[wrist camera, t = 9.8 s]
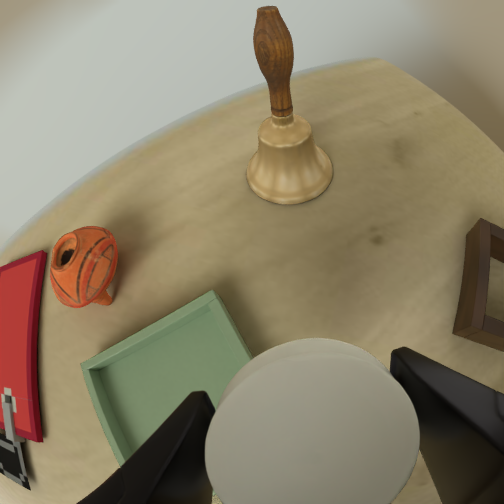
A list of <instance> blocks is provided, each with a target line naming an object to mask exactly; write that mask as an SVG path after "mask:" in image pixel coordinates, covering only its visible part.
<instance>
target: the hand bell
mask: <svg viewBox="0 0 504 504" xmlns="http://www.w3.org/2000/svg"><path fill="white" fill-rule="evenodd" d="M253 40H254V41H253V42H254V50H255V55H256V59H257V61H258V64H259V67H260V70H261V72H262V73H263V75H264V77H265V79H266V81H267V83H268V87H269V92H270V102H271V112H272V114H271V115H272V116H271V117H269V118H267V119H266V120H265V121H264V122H263V123H262V124H261V125H260V127H259V130H258V140H259V146H258V151H257V152H256V153H255V154H254V155H253V156H252V158H251V160H250V162H249V164H248V167H247V172H246V176H247V181H248V184H249V186H250V187H251V189H252V190H253V191H254V192H255V193H256V194H257V195H258V196H260V197H261V198H263V199H265V200H267V201H270V202H274V203H277V204H298V203H303V202H306V201H309V200H311V199H314V198H315V197H317V196H318V195H320V194H321V193H322V192H323V191H324V190H325V189H326V188H327V187H328V185H329V184H330V182H331V179H332V174H333V168H332V164H331V161H330V159H329V157H328V156H327V155H326V153H325V152H324V151H323V150H322V149H320V148H319V147H318V146H316V145H315V143H314V140H313V136H312V131H311V127H310V125H309V123H308V122H307V121H306V120H305V119H304V118H302V117H300V116H298V115H294V114H293V106H292V100H291V94H290V76H291V73H292V68H293V60H294V52H293V43H292V38H291V35H290V32H289V30H288V28H287V26H286V24H285V22H284V21H283V19H282V17H281V15H280V13H279V11H278V8H277V7H276V6H266V7H261V8H258V9H257V19H256V24H255V29H254V36H253Z"/></svg>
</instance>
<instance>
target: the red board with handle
mask: <svg viewBox="0 0 504 504" xmlns="http://www.w3.org/2000/svg"><path fill="white" fill-rule="evenodd" d="M46 257H47V253H46V252H44V251H43V250H41V251H39V252H36V253H34V254H31V255H29V256H26V257H23V258H21V259H19V260H16V261H14V262H11V263H9V264H6V265H4V266H2V267H0V428H1V429H4V430H5V432H6V436H5V435H3V434H0V473H2V474H3V475H5V476H6V477H8V478H10V479H11V480H13V481H15V482H16V483H18V484H20V485H22V486H23V487H25V488H27V489H29V490H31V489H30V486H29V482H28V478H27V474H26V470H25V466H24V462H23V457H22V452H21V446H20V442H25V438H26V439H29V440H32V441H35V442H43V436H42V429H41V421H40V413H39V402H38V387H37V332H38V317H39V306H40V297H41V288H42V281H43V274H44V268H45V262H46ZM10 396H12V403H11V402H10Z"/></svg>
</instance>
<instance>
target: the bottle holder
mask: <svg viewBox="0 0 504 504" xmlns="http://www.w3.org/2000/svg"><path fill="white" fill-rule="evenodd" d="M490 257H493V258H495V259H497V260H499V261H501V262H503V263H504V229H502V228H500V227H498V226H496V225H494V224H492V223H490V222H488V221H486V220H484V219H482V218H480V219H479V220H478V222H477V223H476V224H475V225H474V227H473V228H472V229H471V230H470V231H469V232H468V234H467V235H466V250H465V261H464V270H463V279H462V286H461V292H460V299H459V304H458V310H457V315H456V320H455V324H454V329H453V334H455V335H458V336H460V337H464V338H466V339H469V340H472V341H474V342H477V343H480V344H483V345H486V346H489V347H492V348H494V349H497V350H500V351H503V352H504V322H502V321H499V320H497V319H494V318H492V317H489V316H487V315H485V308H486V301H487V292H488V282H489V269H490Z"/></svg>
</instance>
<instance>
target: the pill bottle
mask: <svg viewBox="0 0 504 504" xmlns="http://www.w3.org/2000/svg"><path fill="white" fill-rule="evenodd" d="M419 444H420V431H419V424H418V418H417V415H416V412H415V409H414V406H413V404H412V402H411V400H410V398H409V396H408V395H407V393H406V392H405V390H404V389H403V388H402V386H401V385H400V384H399V382H397V381H396V380H395V379H394V377H393V376H392V374H391V373H390V372H389V370H388V369H387V368H386V367H385V366H384V365H383V364H382V363H381V362H380V361H379V360H378V359H377V358H375V357H374V356H373V355H371V354H370V353H368V352H367V351H365V350H363V349H361V348H359V347H357V346H355V345H352V344H349V343H346V342H343V341H339V340H334V339H327V338H307V339H299V340H294V341H290V342H287V343H284V344H281V345H278V346H275V347H273V348H270V349H268V350H266V351H265V352H263V353H261V354H259V355H258V356H256V357H255V358H253V359H252V360H251V361H249V362H248V363H247V364H246V365H245V366H243V367H242V368H241V369H240V370H239V371H238V372H237V373H236V375H235V376H234V377H233V378H232V380H231V381H230V382H229V384H228V385H227V387H226V388H225V390H224V392H223V394H222V396H221V398H220V400H219V403H218V406H217V409H216V412H215V414H214V416H213V418H212V420H211V423H210V426H209V429H208V432H207V436H206V442H205V464H206V469H207V474H208V477H209V480H210V482H211V485H212V487H213V489H214V491H215V493H216V494H217V496H218V497H219V499H220V500H221V502H222V503H223V504H390V503H391V502H392V501H393V500H394V499H395V498H396V497H397V495H398V494H399V493H400V491H401V490H402V489H403V487H404V486H405V485H406V483H407V481H408V479H409V478H410V476H411V473H412V471H413V468H414V466H415V463H416V460H417V456H418V452H419Z"/></svg>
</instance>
